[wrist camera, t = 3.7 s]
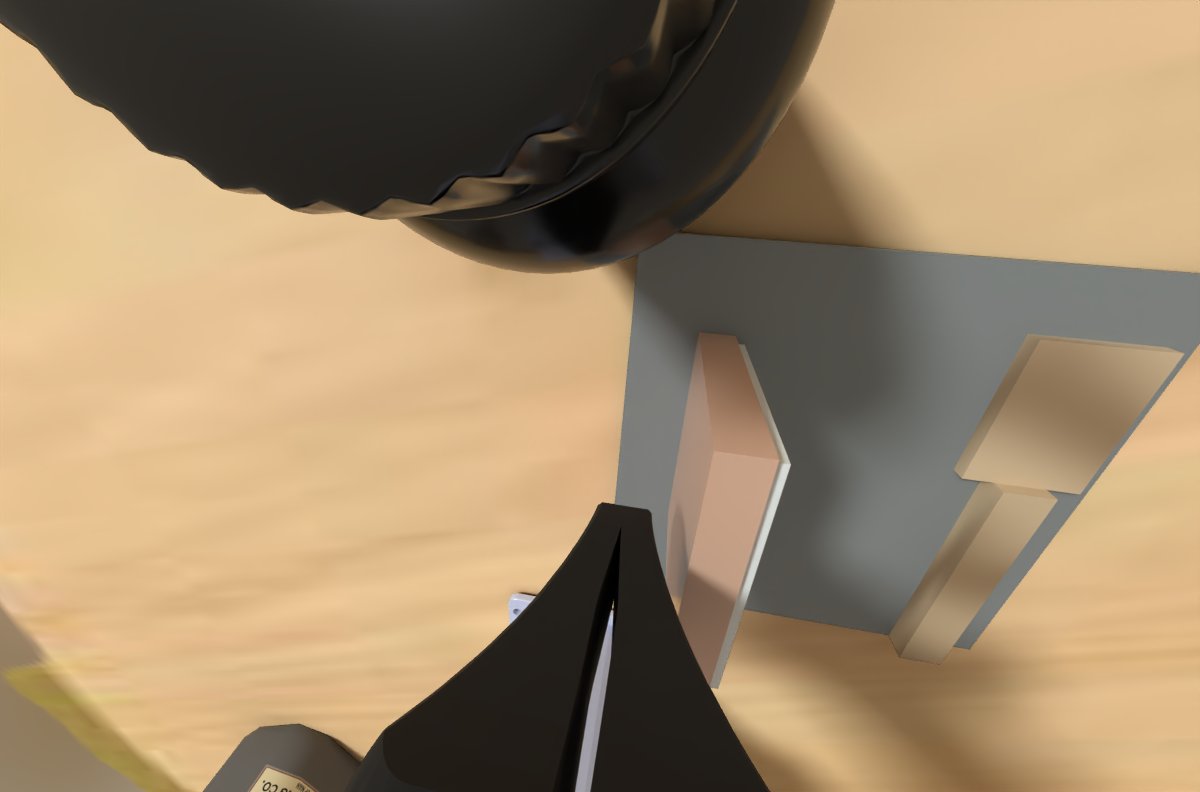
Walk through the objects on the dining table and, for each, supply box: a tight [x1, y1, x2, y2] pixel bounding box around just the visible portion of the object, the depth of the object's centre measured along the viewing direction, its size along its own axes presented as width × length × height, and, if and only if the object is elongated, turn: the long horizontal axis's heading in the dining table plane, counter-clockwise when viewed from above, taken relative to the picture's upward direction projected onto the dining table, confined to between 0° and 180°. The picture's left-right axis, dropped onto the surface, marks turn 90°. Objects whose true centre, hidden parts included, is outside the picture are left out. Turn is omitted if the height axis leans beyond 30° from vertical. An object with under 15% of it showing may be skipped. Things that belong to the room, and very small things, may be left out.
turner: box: [889, 334, 1184, 665], centre depth 15 cm, size 14×4×1 cm, turn 177°
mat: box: [615, 232, 1200, 650], centre depth 16 cm, size 16×16×1 cm
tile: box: [666, 332, 791, 689], centre depth 13 cm, size 8×2×7 cm, turn 177°
